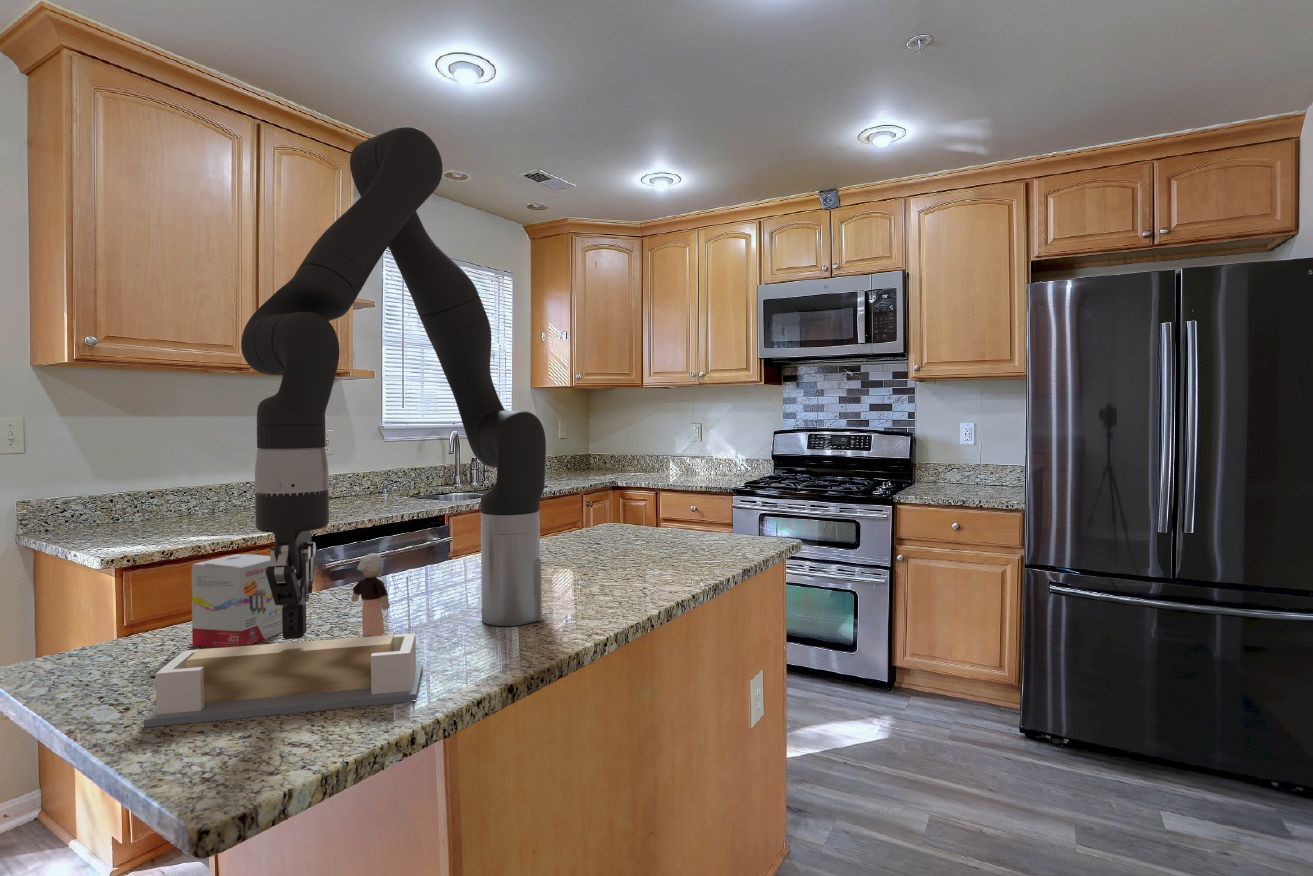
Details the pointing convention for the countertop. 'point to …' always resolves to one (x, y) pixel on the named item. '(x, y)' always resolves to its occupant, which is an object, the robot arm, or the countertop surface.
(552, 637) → the countertop surface
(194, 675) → the end-cap board
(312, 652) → the oak slat
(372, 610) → the grandmother figurine
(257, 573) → the ink box
